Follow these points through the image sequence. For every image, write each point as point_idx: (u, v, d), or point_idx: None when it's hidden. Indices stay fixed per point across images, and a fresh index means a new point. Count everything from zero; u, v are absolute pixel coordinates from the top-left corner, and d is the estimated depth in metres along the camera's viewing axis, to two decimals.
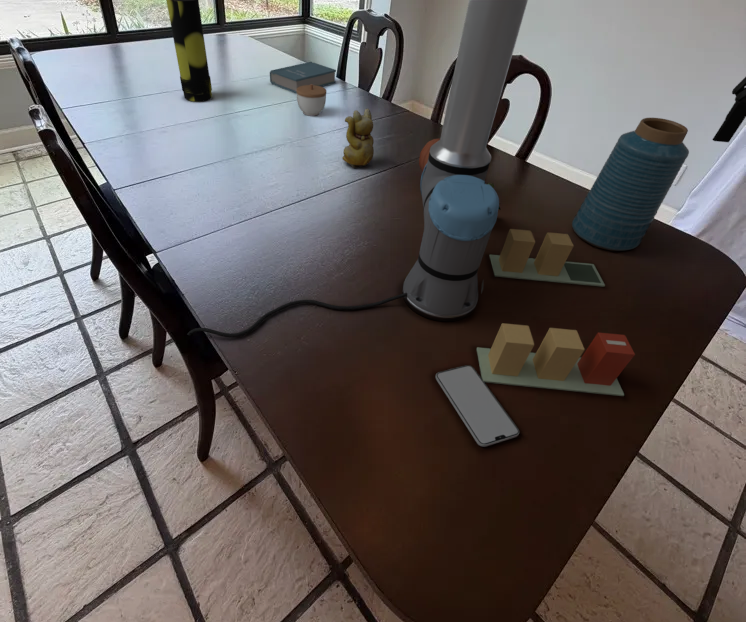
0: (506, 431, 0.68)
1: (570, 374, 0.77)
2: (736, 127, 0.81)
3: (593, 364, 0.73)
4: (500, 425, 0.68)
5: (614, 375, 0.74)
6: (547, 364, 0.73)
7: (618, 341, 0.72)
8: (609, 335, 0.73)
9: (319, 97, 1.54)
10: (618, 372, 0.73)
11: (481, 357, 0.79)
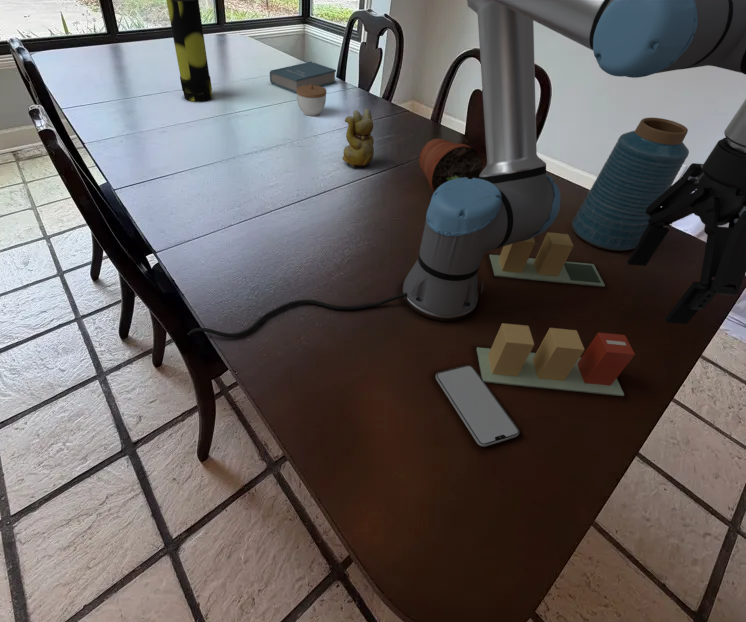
0: (506, 431, 0.68)
1: (570, 374, 0.77)
2: (652, 251, 0.68)
3: (593, 364, 0.73)
4: (500, 425, 0.68)
5: (614, 375, 0.74)
6: (547, 364, 0.73)
7: (618, 341, 0.72)
8: (609, 335, 0.73)
9: (319, 97, 1.54)
10: (618, 372, 0.73)
11: (481, 357, 0.79)
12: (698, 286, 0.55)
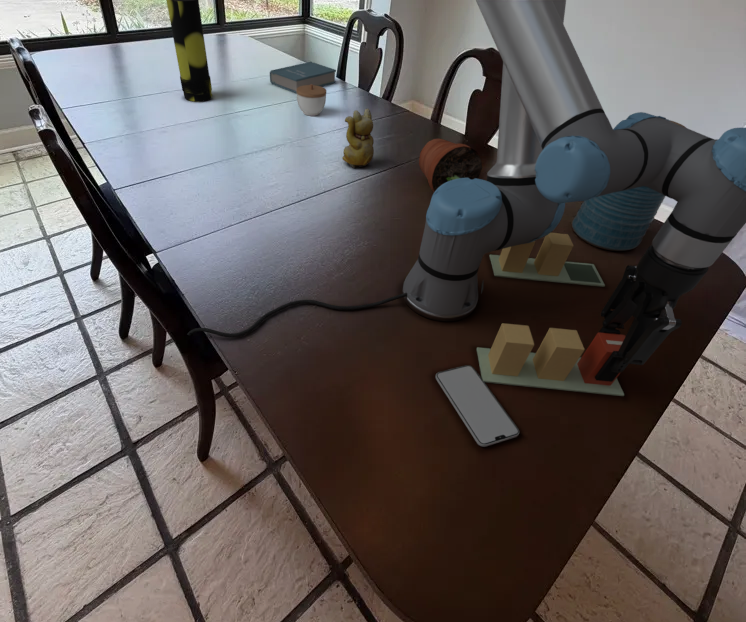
0: (506, 431, 0.68)
1: (570, 374, 0.77)
2: None
3: (593, 364, 0.73)
4: (500, 425, 0.68)
5: None
6: (547, 364, 0.73)
7: (618, 341, 0.72)
8: (609, 335, 0.73)
9: (319, 97, 1.54)
10: None
11: (481, 357, 0.79)
12: (614, 356, 0.68)
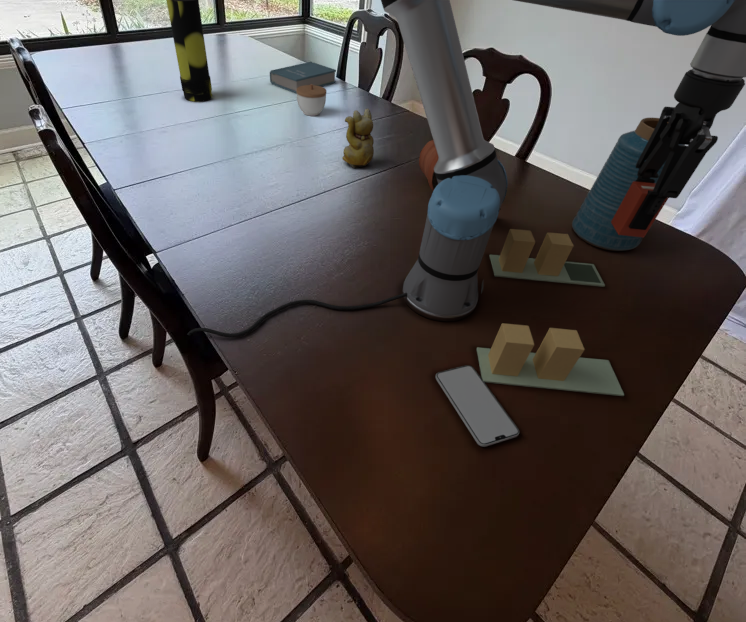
0: (506, 431, 0.68)
1: (570, 374, 0.77)
2: None
3: (628, 212, 0.77)
4: (500, 425, 0.68)
5: None
6: (547, 364, 0.73)
7: (653, 187, 0.75)
8: (644, 183, 0.76)
9: (319, 97, 1.54)
10: (652, 219, 0.76)
11: (481, 357, 0.79)
12: (649, 193, 0.72)
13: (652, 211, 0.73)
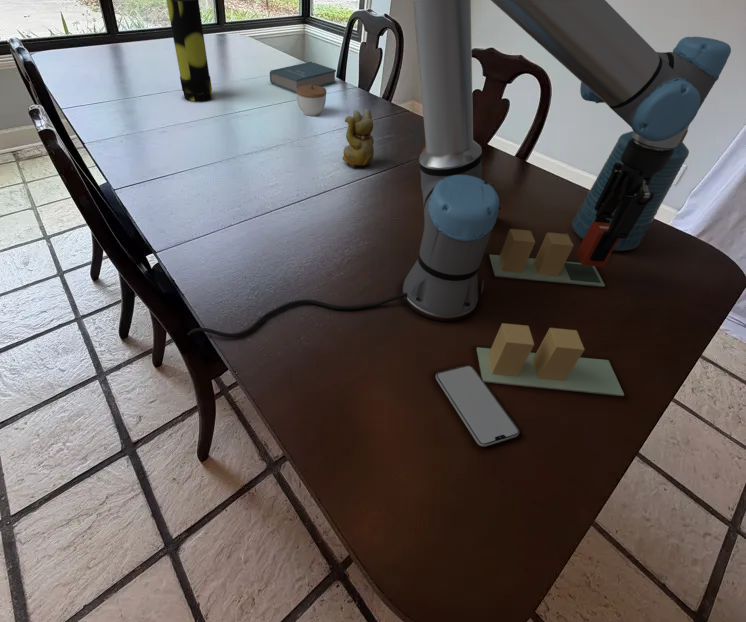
0: (506, 431, 0.68)
1: (570, 374, 0.77)
2: None
3: (589, 247, 0.92)
4: (500, 425, 0.68)
5: None
6: (547, 364, 0.73)
7: (608, 226, 0.91)
8: (601, 223, 0.92)
9: (319, 97, 1.54)
10: (609, 253, 0.92)
11: (481, 357, 0.79)
12: (604, 234, 0.87)
13: (607, 247, 0.89)
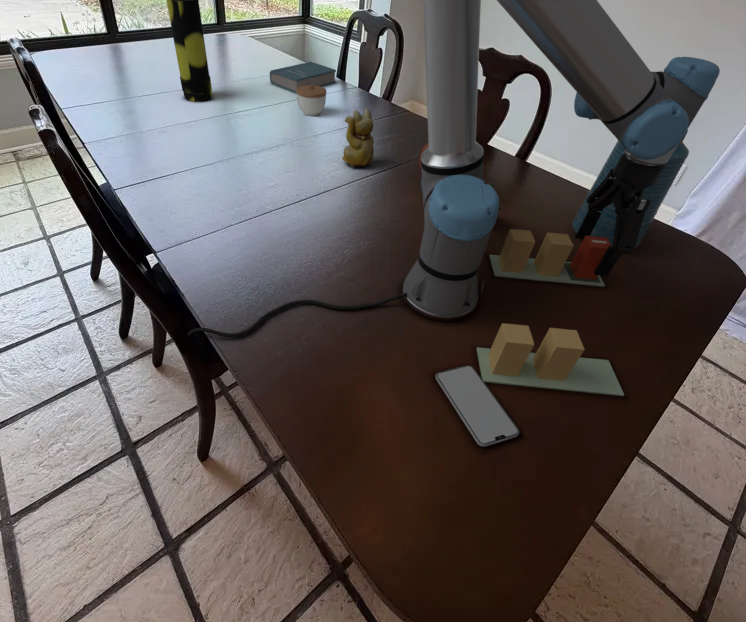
0: (506, 431, 0.68)
1: (570, 374, 0.77)
2: (591, 229, 0.98)
3: (582, 260, 0.95)
4: (500, 425, 0.68)
5: None
6: (547, 364, 0.73)
7: (601, 240, 0.93)
8: (594, 237, 0.94)
9: (319, 97, 1.54)
10: None
11: (481, 357, 0.79)
12: (610, 248, 0.85)
13: (612, 262, 0.87)
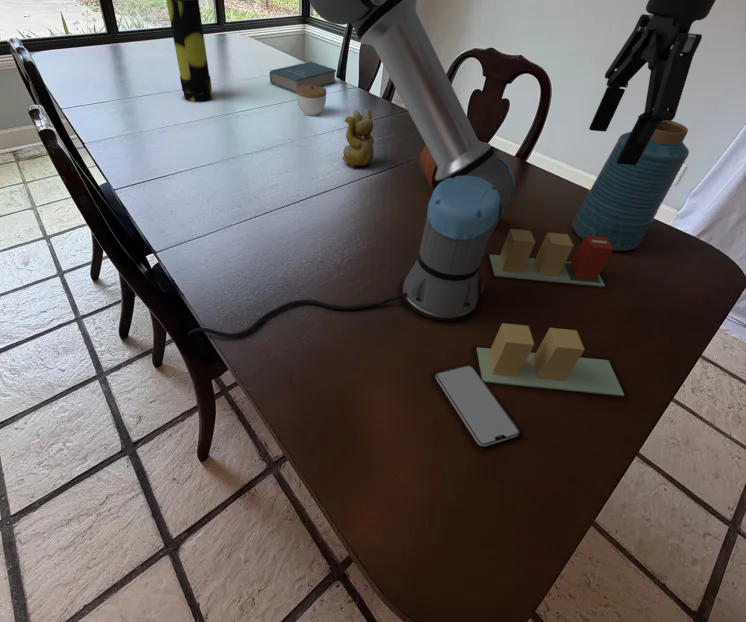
0: (506, 431, 0.68)
1: (570, 374, 0.77)
2: (611, 115, 0.74)
3: (582, 260, 0.95)
4: (500, 425, 0.68)
5: (598, 269, 0.95)
6: (547, 364, 0.73)
7: (601, 240, 0.93)
8: (594, 237, 0.94)
9: (319, 97, 1.54)
10: (601, 266, 0.95)
11: (481, 357, 0.79)
12: (641, 116, 0.61)
13: (643, 140, 0.63)
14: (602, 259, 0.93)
